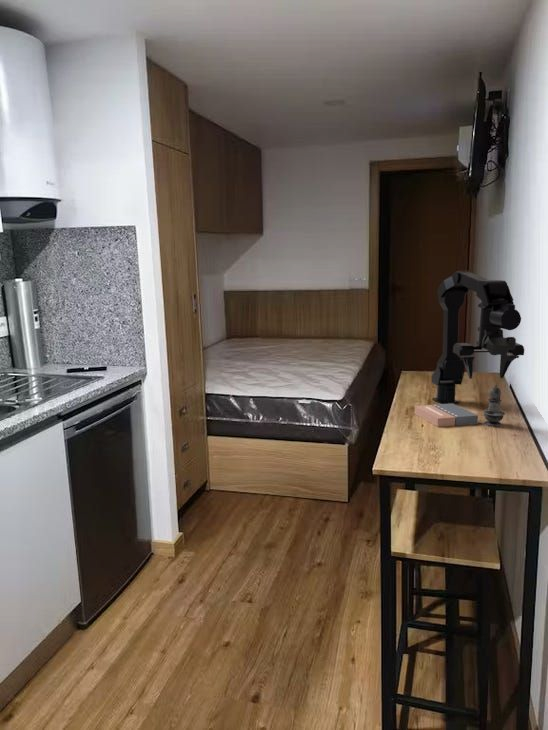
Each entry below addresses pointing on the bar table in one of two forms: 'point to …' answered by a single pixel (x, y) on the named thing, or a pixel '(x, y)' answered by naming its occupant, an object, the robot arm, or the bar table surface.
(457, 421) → the grey flat block
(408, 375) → the bar table surface
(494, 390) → the dark grey tiered figure
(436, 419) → the pink block
